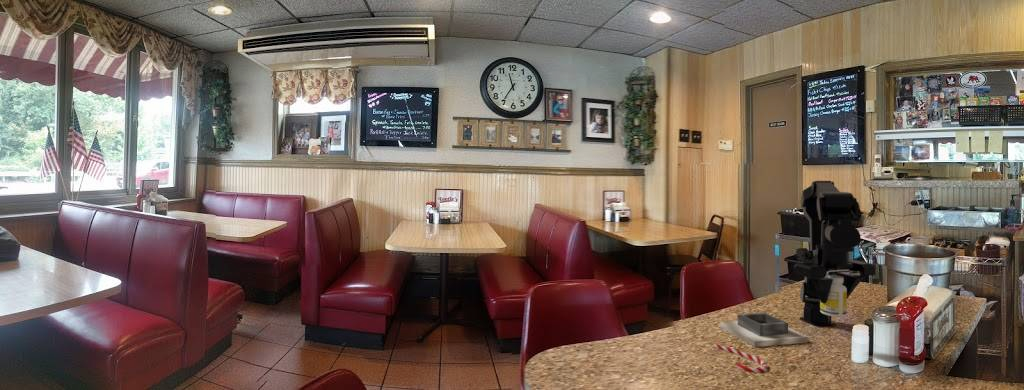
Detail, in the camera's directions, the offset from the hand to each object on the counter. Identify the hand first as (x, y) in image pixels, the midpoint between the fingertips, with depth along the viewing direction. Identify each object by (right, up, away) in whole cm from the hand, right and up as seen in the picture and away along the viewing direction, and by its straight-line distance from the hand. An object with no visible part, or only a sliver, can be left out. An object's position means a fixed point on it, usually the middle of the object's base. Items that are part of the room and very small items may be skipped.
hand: (833, 302), depth 107 cm
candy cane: (-27, -13, -5) cm, 31 cm away
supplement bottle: (0, -3, 0) cm, 3 cm away
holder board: (-12, -12, +10) cm, 20 cm away
